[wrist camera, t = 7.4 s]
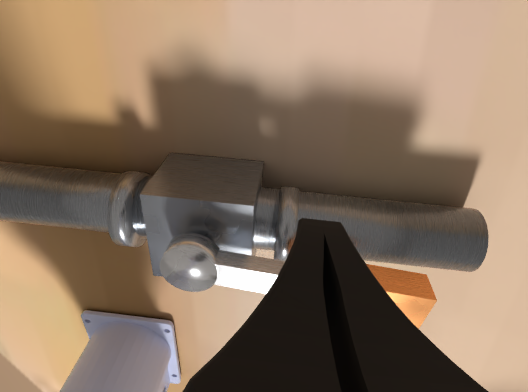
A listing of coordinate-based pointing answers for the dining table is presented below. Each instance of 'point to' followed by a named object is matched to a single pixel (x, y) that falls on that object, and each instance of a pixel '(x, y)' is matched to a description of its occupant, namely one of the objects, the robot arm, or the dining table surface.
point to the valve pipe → (234, 212)
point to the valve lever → (274, 274)
